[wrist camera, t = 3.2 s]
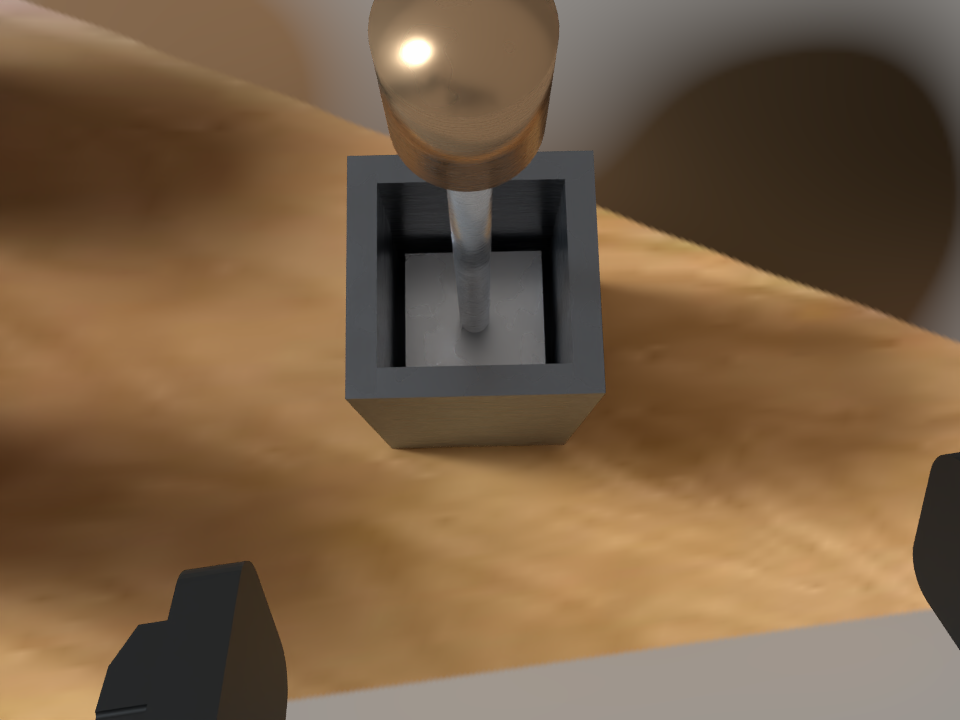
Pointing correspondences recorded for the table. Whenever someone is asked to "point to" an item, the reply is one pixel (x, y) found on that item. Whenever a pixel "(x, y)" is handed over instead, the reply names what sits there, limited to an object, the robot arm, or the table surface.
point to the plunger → (468, 164)
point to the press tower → (481, 388)
